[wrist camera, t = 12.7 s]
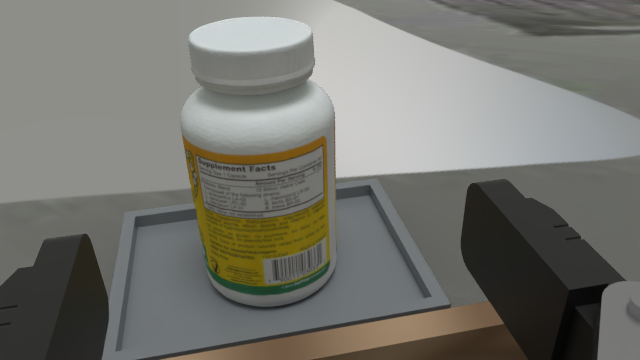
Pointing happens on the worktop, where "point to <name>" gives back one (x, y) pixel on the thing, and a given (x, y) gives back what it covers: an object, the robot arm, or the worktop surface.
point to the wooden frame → (391, 340)
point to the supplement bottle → (261, 160)
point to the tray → (253, 321)
